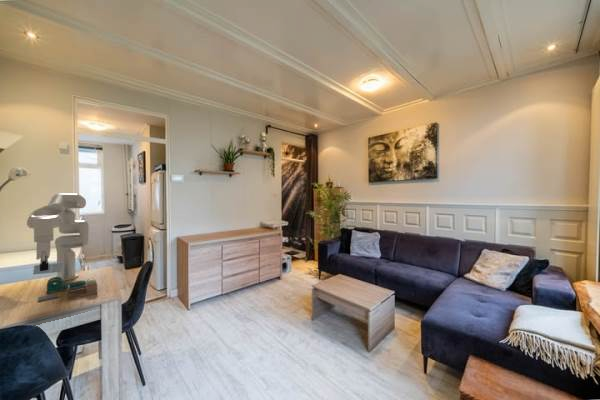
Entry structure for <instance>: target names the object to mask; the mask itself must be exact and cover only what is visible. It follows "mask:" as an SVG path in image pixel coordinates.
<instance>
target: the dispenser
mask: <svg viewBox="0 0 600 400" xmlns="http://www.w3.org/2000/svg"><path fill="white" fill-rule="evenodd" d="M85 281H86V282H85V285H83V286H79V287H75V288H70V285H68V289H67V299H68V300H70V299H73V298H74V297H75V298H79V297H82V296H83V295H84V296H91V295H95V294H98V283H97V280H96V278H94V277H89V278H87V279H86V280H85Z"/></svg>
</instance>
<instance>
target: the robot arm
mask: <svg viewBox="0 0 600 400" xmlns="http://www.w3.org/2000/svg"><path fill="white" fill-rule="evenodd" d="M86 205H87V201H86V199H85V197H83V196H82V195H81V194H78V193H56V194H54V195H53V196H52V198H51V199H50V201H49V202H48V203H47V205H44V206H42V207H39V208H37V209H35V210H33V211H31V213H30V215H28V218H27V220H26V226H27V227H28V228H29V229H33V242H34V243H36V251H35V252H36V260H37V261H38V260H39V261H40V263H39V264H40V271H45V270H48V264H49V258H50V255H51V242H53V241H54V245H55V250H56V263H62V269H61V272H56V277H60V278H61V279H62V282H64V281H65V282H66V281H70V280H73V279H76V278H78V277H79V274H78V273H76V252H75V251H74V250H73V249H78V248H79V249H80V248H85V247H87V246H88V245H89V235H90V234H89V232H90V231H89V229H90V227H89V223H88V221H87V220H85V219H84V220H80V219H79V220H76V212H74V210H72V209H83V208H85V207H86ZM54 228H58V231H59V233H60V234H64V235H61V236H58V237H56V238H55V240H54ZM65 234H72V235H65Z"/></svg>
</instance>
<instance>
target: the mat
mask: <svg viewBox="0 0 600 400" xmlns="http://www.w3.org/2000/svg"><path fill="white" fill-rule="evenodd" d="M55 299H59V292H57V293H52V294H48V295H43V296H42V295H41V296H39V297H38V300H37V301H38V303H40V302H46V301H49V300H55Z"/></svg>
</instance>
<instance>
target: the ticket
mask: <svg viewBox="0 0 600 400" xmlns="http://www.w3.org/2000/svg"><path fill="white" fill-rule="evenodd" d="M61 269H62V263H57V262H54V263H48V270H45V271H40V263H39V264H34V265H33V273H32V275H43V274H53V273H57V272H61Z"/></svg>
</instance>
